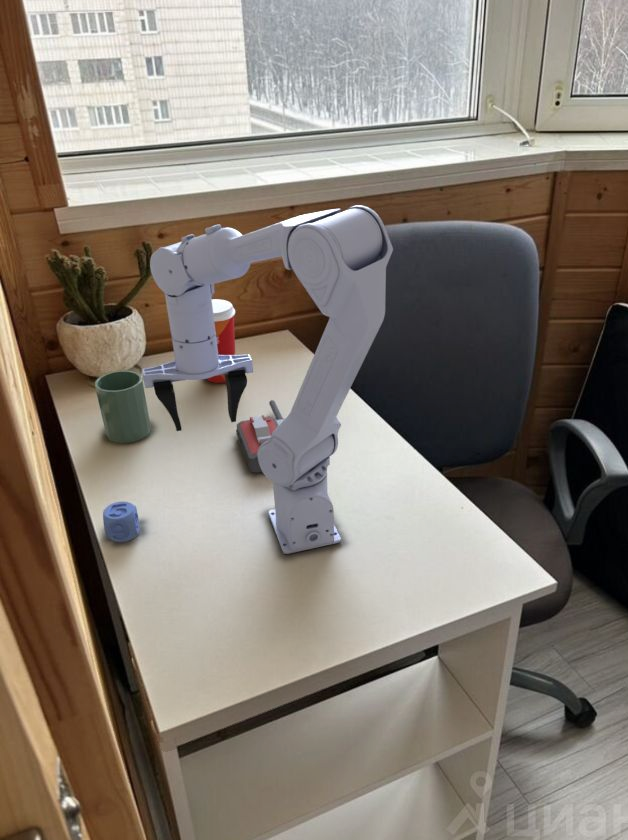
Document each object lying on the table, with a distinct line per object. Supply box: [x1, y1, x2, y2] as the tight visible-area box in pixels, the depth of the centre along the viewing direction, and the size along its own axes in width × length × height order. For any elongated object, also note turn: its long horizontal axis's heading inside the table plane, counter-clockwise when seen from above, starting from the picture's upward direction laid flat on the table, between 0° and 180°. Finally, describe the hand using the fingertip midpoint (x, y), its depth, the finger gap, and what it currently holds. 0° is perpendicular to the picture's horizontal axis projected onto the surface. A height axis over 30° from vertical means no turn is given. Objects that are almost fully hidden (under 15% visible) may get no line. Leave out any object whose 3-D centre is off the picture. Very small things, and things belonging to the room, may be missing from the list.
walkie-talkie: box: [235, 399, 285, 474], centre depth 117 cm, size 9×4×20 cm
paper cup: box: [206, 298, 236, 384], centre depth 133 cm, size 8×8×14 cm
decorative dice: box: [102, 500, 140, 543], centre depth 98 cm, size 4×4×4 cm
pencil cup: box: [94, 370, 152, 444], centre depth 118 cm, size 7×7×10 cm
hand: (205, 423), depth 103 cm, fingers open, 7 cm apart
